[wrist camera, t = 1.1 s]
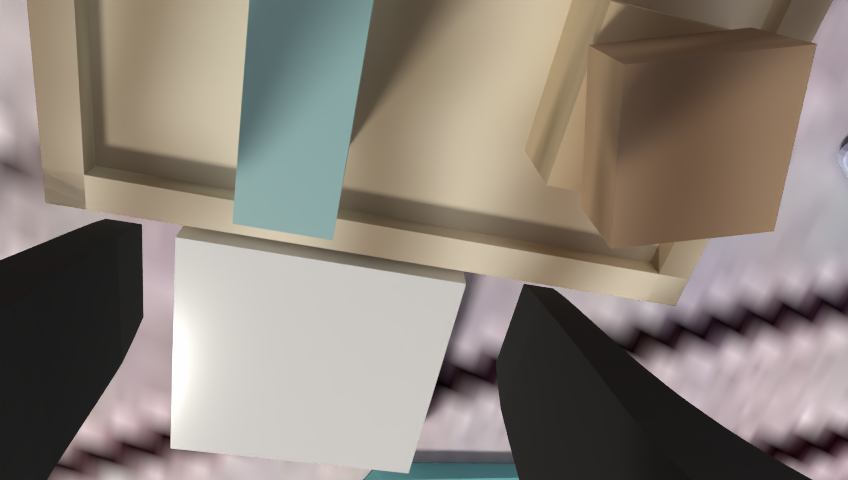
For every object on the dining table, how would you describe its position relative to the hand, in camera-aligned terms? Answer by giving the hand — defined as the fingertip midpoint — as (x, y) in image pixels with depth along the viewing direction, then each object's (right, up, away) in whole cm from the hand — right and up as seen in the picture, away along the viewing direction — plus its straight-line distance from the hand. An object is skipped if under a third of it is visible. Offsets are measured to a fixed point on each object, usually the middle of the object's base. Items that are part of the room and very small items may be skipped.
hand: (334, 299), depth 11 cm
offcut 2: (+8, +4, +5) cm, 10 cm away
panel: (-1, +7, +6) cm, 10 cm away
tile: (-3, -3, +13) cm, 13 cm away
